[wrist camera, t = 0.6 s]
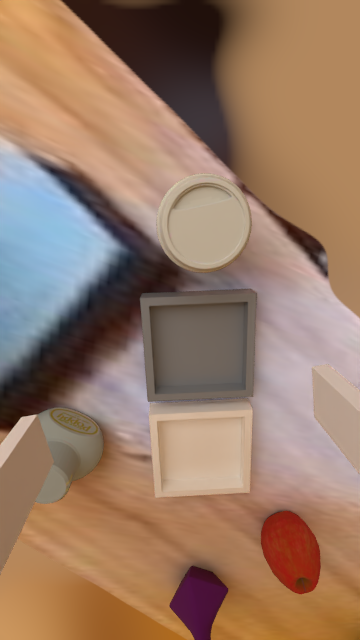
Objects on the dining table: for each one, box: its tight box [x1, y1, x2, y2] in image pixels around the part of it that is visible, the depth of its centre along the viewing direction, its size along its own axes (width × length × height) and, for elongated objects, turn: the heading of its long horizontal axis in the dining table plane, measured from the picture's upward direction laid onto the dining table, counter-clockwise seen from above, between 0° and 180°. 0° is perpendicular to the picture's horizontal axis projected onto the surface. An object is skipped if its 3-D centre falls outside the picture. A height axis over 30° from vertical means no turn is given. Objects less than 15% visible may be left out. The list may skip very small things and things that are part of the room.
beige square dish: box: [149, 398, 253, 498], centre depth 45 cm, size 14×14×3 cm
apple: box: [261, 511, 321, 594], centre depth 46 cm, size 8×8×11 cm
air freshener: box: [35, 408, 104, 504], centre depth 40 cm, size 11×8×10 cm
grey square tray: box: [140, 289, 257, 402], centre depth 40 cm, size 14×14×3 cm
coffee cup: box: [156, 173, 252, 273], centre depth 32 cm, size 8×9×12 cm
